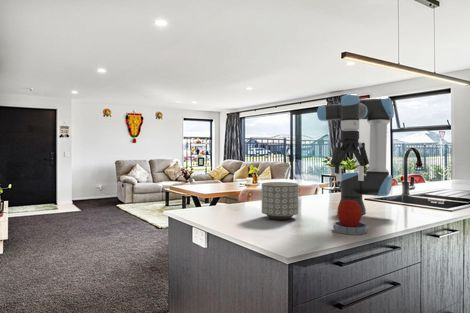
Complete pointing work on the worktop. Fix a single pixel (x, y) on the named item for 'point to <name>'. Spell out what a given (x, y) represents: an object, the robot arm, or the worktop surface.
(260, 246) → the worktop surface
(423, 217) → the worktop surface
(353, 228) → the grey shallow round dish
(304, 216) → the worktop surface
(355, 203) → the apple
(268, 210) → the planter
